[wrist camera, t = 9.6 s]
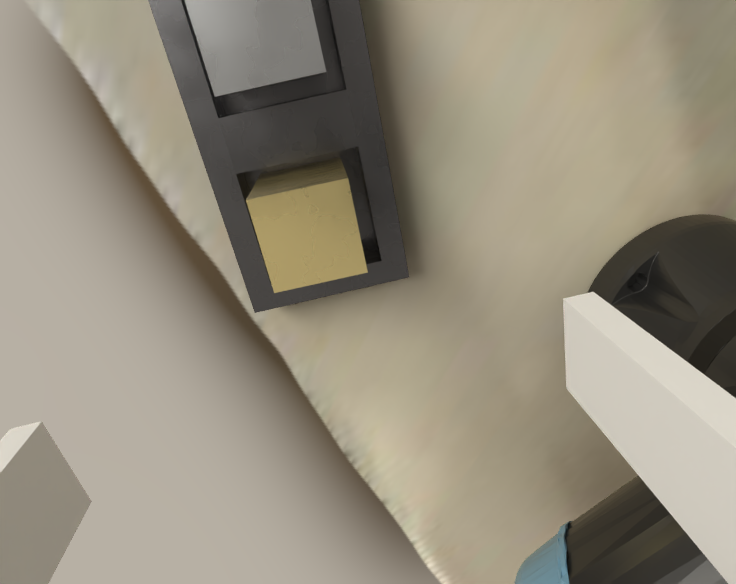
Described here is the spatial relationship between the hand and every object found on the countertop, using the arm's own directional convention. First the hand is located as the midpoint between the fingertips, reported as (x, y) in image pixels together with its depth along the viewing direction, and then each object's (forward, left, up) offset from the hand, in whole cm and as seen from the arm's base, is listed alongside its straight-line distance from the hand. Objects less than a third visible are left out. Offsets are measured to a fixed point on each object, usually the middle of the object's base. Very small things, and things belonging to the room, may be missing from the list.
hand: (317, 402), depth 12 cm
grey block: (+10, 0, -20) cm, 22 cm away
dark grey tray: (+5, 0, -21) cm, 21 cm away
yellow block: (0, 0, -20) cm, 20 cm away
